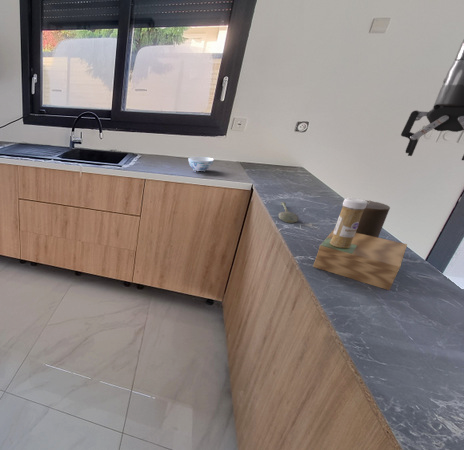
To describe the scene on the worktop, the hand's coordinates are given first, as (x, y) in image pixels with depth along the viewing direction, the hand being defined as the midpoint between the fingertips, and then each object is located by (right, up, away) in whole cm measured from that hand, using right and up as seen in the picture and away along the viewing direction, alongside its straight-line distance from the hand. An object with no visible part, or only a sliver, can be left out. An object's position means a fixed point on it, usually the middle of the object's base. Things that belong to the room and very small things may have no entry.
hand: (435, 157), depth 73 cm
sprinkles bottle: (-11, -22, +13) cm, 28 cm away
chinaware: (-1, +19, +126) cm, 128 cm away
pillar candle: (+9, -22, +30) cm, 38 cm away
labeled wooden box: (-4, -28, +16) cm, 33 cm away
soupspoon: (+4, -11, +55) cm, 56 cm away
